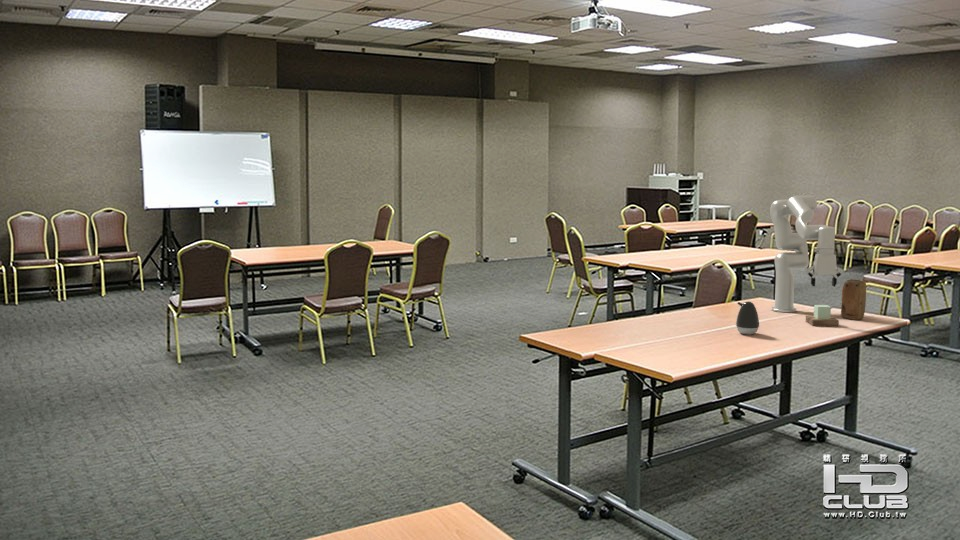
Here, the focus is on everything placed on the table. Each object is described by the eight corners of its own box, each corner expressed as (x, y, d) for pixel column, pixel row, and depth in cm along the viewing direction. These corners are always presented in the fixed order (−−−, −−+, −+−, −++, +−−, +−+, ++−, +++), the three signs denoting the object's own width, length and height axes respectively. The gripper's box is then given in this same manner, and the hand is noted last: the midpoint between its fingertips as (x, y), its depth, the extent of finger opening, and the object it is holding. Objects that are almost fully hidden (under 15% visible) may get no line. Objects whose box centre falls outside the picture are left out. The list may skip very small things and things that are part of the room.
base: (805, 321, 400) (805, 315, 400) (830, 321, 399) (830, 315, 399) (812, 326, 388) (813, 319, 388) (838, 326, 387) (838, 320, 387)
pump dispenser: (741, 330, 378) (743, 298, 377) (762, 333, 371) (764, 301, 369) (731, 333, 371) (732, 301, 369) (752, 336, 364) (753, 304, 362)
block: (866, 319, 406) (868, 280, 404) (859, 321, 401) (862, 281, 398) (844, 316, 414) (846, 278, 411) (838, 318, 409) (840, 279, 406)
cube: (813, 316, 397) (814, 304, 396) (826, 316, 396) (826, 305, 395) (817, 318, 391) (818, 306, 390) (830, 319, 390) (830, 307, 389)
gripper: (809, 252, 388) (807, 287, 390) (846, 252, 386) (844, 287, 388) (805, 250, 395) (803, 284, 397) (841, 250, 393) (839, 285, 395)
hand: (823, 286), depth 393 cm, fingers open, 9 cm apart
